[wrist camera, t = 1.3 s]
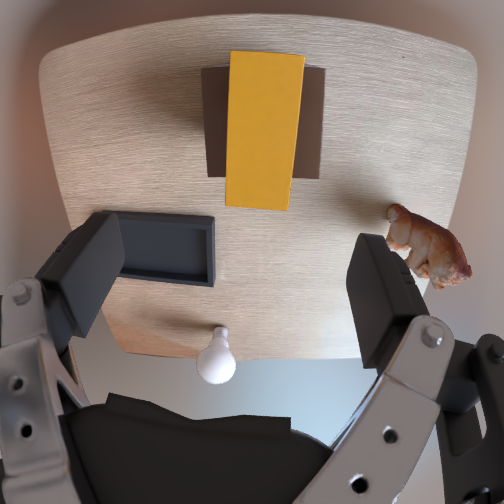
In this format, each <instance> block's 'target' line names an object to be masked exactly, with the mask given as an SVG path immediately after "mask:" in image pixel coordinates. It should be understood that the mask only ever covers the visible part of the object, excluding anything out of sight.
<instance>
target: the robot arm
mask: <svg viewBox="0 0 504 504" xmlns="http://www.w3.org/2000/svg"><path fill="white" fill-rule="evenodd" d="M124 258H125V252H124V246H123V241H122V236H121V231H120V226H119V221H118V217H117V215H116V214H115V213H110V212H94V213H93V214H92V215H91V216H90V217H89V218H88V219H87V220H86V222H85V223H84V224H83V225H81V226H79V227H78V228H76V229H75V230H73V231H72V232H71V233H69V234H68V235H67V237H66V238H65V239H64V240H63V241H62V244H60V245H59V246H58V247H57V249H56V250H55V252H53V254H52V255H51V256H50V257H49V258H48V260H47V261H46V262H45V264H44V265H43V266H42V267H41V269H40V270H39V271H38V273H37V274H36V275H35V277H34V278H30V277H29V278H23V279H20V280H18V281H16V282H14V283H13V284H11V285H10V286H9V287H8V288H7V289H6V291H5V292H4V294H3V295H0V451H1V455H2V459H0V504H394V503H395V502H396V500H397V498H398V497H399V495H400V493H401V492H402V490H403V488H404V486H405V485H406V483H407V481H408V479H409V477H410V475H411V474H412V472H413V470H414V468H415V466H416V464H417V462H418V460H419V458H420V456H421V454H422V451H423V449H424V447H425V445H426V443H427V441H428V439H429V436H430V434H431V432H432V430H433V427H434V425H435V424H436V430H437V436H438V442H439V449H440V456H441V464H442V473H443V483H444V495H445V504H504V340H502V339H501V338H500V337H498V336H496V335H493V334H485V335H483V336H481V338H480V339H479V340H478V341H477V343H476V344H475V345H473V344H470V343H466V342H462V341H459V340H455V339H454V336H453V333H452V332H451V330H450V328H449V327H448V326H447V325H446V324H445V323H444V322H443V321H441V320H439V319H438V318H435V317H433V316H430V314H429V312H428V309H427V307H426V305H425V302H424V300H423V298H422V296H421V293H420V291H419V289H418V287H417V285H415V280H414V278H413V276H412V275H411V272H410V270H409V268H408V266H407V264H406V262H405V261H404V260H403V259H402V258H401V257H400V256H399V255H398V254H397V253H396V252H393V251H390V249H389V247H388V245H387V243H386V240H385V238H384V237H383V236H382V235H375V234H366V233H360V234H359V236H358V238H357V241H356V244H355V248H354V251H353V254H352V258H351V261H350V264H349V268H348V271H347V277H346V288H347V292H348V297H349V301H350V305H351V310H352V314H353V318H354V323H355V328H356V332H357V337H358V342H359V347H360V352H361V357H362V362H363V368H364V369H369V368H370V369H371V368H376V369H377V374H378V376H377V377H376V379H375V380H374V382H373V383H372V385H371V387H370V388H369V390H368V392H367V393H366V395H365V396H364V398H363V399H362V401H361V403H360V404H359V405H358V407H357V409H356V410H355V411H354V413H353V414H352V416H351V417H350V419H349V420H348V422H347V423H346V424H345V426H344V427H343V428H342V430H341V431H340V432H339V434H338V435H337V436H336V437H335V439H334V440H333V441H332V443H331V444H330V445H329V446H327V445H325V444H324V443H322V442H321V441H319V440H318V439H316V438H314V437H312V436H310V435H308V434H305V433H303V432H300V431H298V430H294V429H291V417H270V416H255V415H238V416H230V417H222V418H214V419H203V420H192V419H189V418H186V417H184V416H181V415H179V414H177V413H174V412H172V411H170V410H167V409H165V408H162V407H160V406H158V405H156V404H154V403H152V402H150V401H145V400H140V399H135V398H131V397H126V396H122V395H118V394H113V393H109V394H108V397H107V400H106V403H105V404H95V405H91V404H90V402H89V400H88V398H87V396H86V394H85V392H84V389H83V386H82V382H81V379H80V376H79V372H78V369H77V365H76V361H75V358H74V354H73V350H72V346H71V344H70V342H69V341H70V338H71V337H72V335H73V336H77V337H82V338H86V336H87V334H88V332H89V330H90V328H91V325H92V323H93V322H94V320H95V318H96V315H97V314H98V312H99V310H100V308H101V306H102V304H103V302H104V300H105V298H106V296H107V295H108V293H109V291H110V289H111V287H112V285H113V283H114V282H115V280H116V278H117V276H118V274H119V273H120V271H121V269H122V267H123V264H124ZM479 401H481V404H482V408H483V412H484V416H485V420H486V425H487V430H486V434H485V437H484V438H483V439H482V434H481V430H480V425H479V420H478V417H477V412H476V408H475V404H476V403H478V402H479Z"/></svg>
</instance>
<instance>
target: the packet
mask: <svg viewBox="0 0 504 504" xmlns="http://www.w3.org/2000/svg"><path fill="white" fill-rule="evenodd" d="M304 61H305V56H301V55H292V54H282V53H270V52H255V51H230V70H229V93H228V119H227V151H226V193H225V206H231V207H245V208H258V209H270V210H281V211H288V205H289V197H290V189H291V181H292V173H293V164H294V156H295V147H296V138H297V129H298V120H299V111H300V101H301V92H302V82H303V71H304Z"/></svg>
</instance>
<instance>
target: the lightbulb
mask: <svg viewBox="0 0 504 504" xmlns="http://www.w3.org/2000/svg"><path fill="white" fill-rule="evenodd" d="M228 335H229V331H228V329H226V328H225V327H216V328H215V329H214V332H213V337H212V340H211V341H210V343H209V345H208V347H206V348H205V349H204V350H202V351H201V353H200V354H199V355H198V358H197V361H196V368H197V372H198V374H199V375H200V377H201V378H202V379H203V380H205V381H206V382H208V383H212V384H222V383H224V382H226V381H228V380H229V379H230V378H231V377H232V376H233V374H234V372H235V368H236V364H235V359H234V357H233V355H232V353H231V352H230V350H229V345H228Z"/></svg>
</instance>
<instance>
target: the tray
mask: <svg viewBox="0 0 504 504" xmlns="http://www.w3.org/2000/svg"><path fill="white" fill-rule="evenodd" d="M102 212H110V213H115V214H116V215H117V217H118V221H119V226H120V231H121V236H122V241H123V246H124V252H125V258H124V264H123V267H122V269H121V271H120V273H119V274H118V276H117V277H123V278H131V279H140V280H148V281H157V282H167V283H176V284H186V285H196V286H206V287H214V282H215V217H208V216H193V215H177V214H160V213H142V212H121V211H102Z"/></svg>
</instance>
